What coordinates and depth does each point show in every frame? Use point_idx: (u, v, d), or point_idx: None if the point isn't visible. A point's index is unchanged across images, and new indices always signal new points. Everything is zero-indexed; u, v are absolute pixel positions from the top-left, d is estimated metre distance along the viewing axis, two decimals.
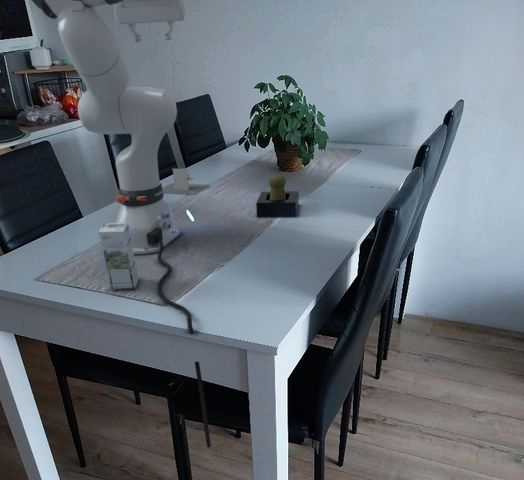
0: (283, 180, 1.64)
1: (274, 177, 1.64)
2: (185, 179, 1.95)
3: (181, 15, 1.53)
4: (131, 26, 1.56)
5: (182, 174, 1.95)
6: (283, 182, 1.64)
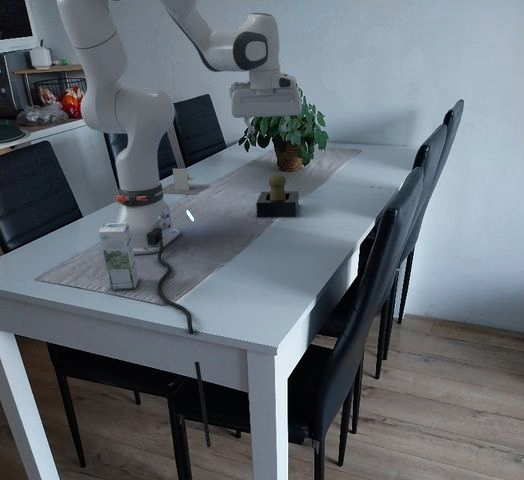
0: (283, 180, 1.64)
1: (275, 177, 1.64)
2: (185, 179, 1.95)
3: (299, 110, 1.54)
4: (247, 119, 1.57)
5: (182, 174, 1.95)
6: (283, 182, 1.64)
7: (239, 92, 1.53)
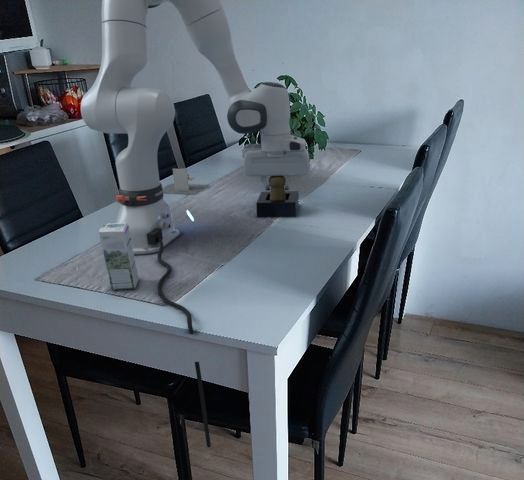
0: (283, 180, 1.64)
1: (274, 177, 1.64)
2: (185, 179, 1.95)
3: (308, 171, 1.62)
4: (263, 178, 1.65)
5: (182, 174, 1.95)
6: (283, 182, 1.64)
7: (251, 153, 1.61)
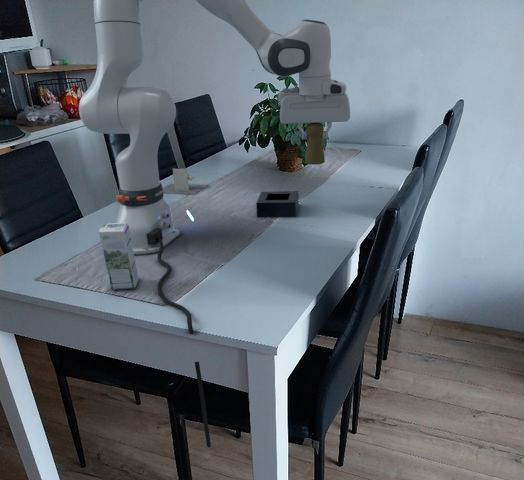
0: (321, 127, 1.56)
1: (312, 125, 1.56)
2: (185, 179, 1.95)
3: (348, 117, 1.53)
4: (300, 125, 1.57)
5: (182, 174, 1.95)
6: (321, 130, 1.56)
7: (289, 98, 1.53)
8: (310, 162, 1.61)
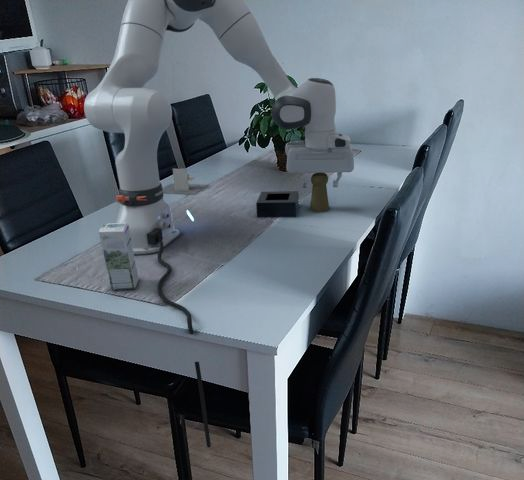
0: (325, 177, 1.64)
1: (317, 175, 1.63)
2: (185, 179, 1.95)
3: (352, 168, 1.60)
4: (301, 175, 1.64)
5: (182, 174, 1.95)
6: (325, 180, 1.64)
7: (295, 150, 1.60)
8: (315, 209, 1.68)
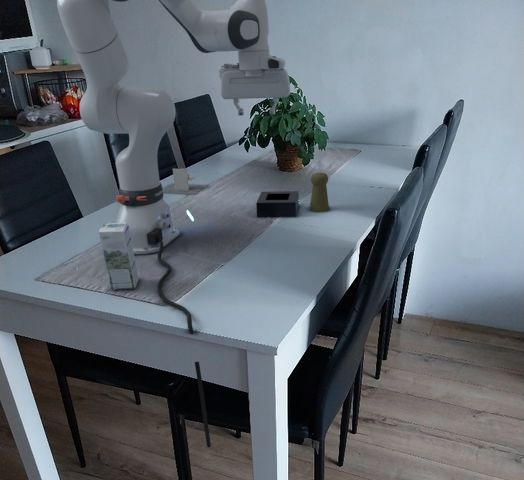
0: (325, 177, 1.64)
1: (317, 175, 1.63)
2: (185, 179, 1.95)
3: (288, 92, 1.55)
4: (236, 101, 1.59)
5: (182, 174, 1.95)
6: (325, 180, 1.64)
7: (229, 73, 1.55)
8: (315, 209, 1.68)
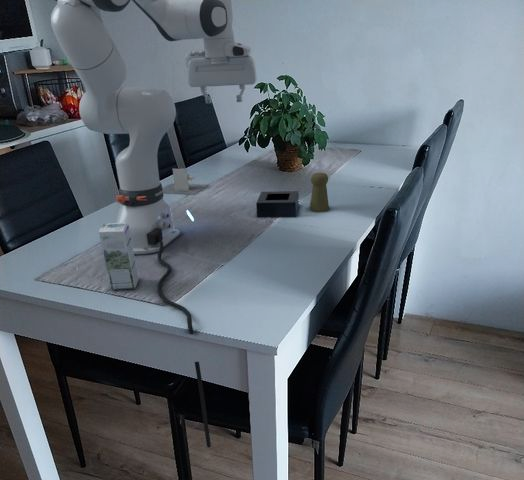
0: (325, 177, 1.64)
1: (317, 175, 1.63)
2: (185, 179, 1.95)
3: (253, 79, 1.57)
4: (203, 89, 1.60)
5: (182, 174, 1.95)
6: (325, 180, 1.64)
7: (195, 61, 1.56)
8: (315, 209, 1.68)
